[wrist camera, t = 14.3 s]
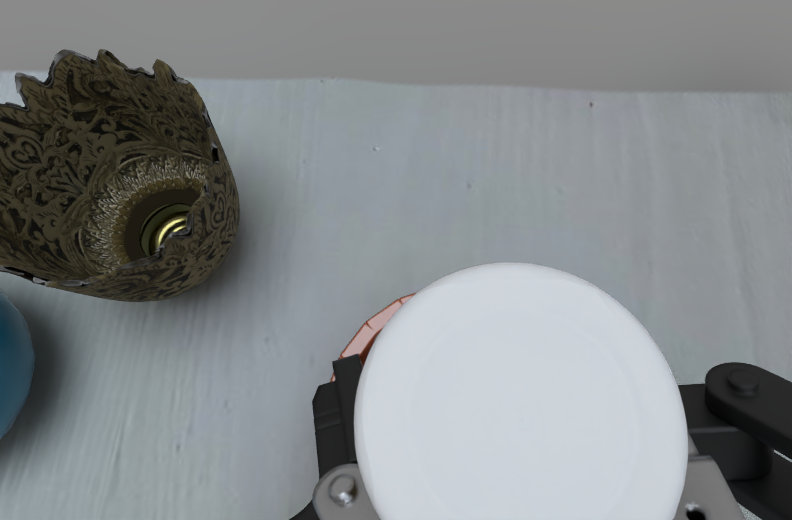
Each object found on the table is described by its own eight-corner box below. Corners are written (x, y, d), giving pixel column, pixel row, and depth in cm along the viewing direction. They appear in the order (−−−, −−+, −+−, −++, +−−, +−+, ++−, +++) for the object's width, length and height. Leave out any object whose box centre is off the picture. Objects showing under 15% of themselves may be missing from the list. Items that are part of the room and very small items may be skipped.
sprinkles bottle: (370, 466, 19) (293, 533, 7) (411, 347, 21) (414, 211, 8) (491, 513, 19) (664, 687, 6) (526, 388, 20) (730, 314, 7)
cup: (303, 195, 23) (252, 81, 16) (235, 358, 21) (139, 319, 14) (148, 149, 24) (29, 19, 17) (69, 301, 22) (-110, 234, 14)
